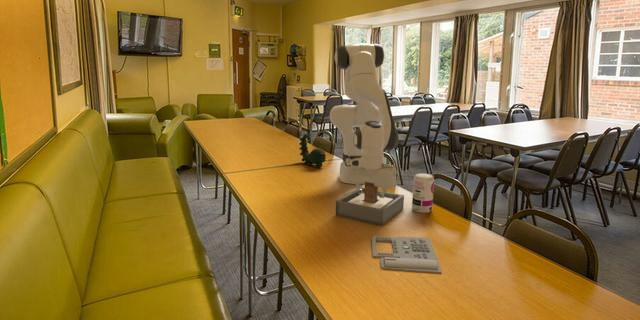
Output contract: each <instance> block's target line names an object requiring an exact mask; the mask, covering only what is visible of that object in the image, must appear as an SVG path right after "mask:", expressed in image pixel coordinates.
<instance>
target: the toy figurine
mask: <svg viewBox="0 0 640 320" xmlns="http://www.w3.org/2000/svg"><path fill="white" fill-rule="evenodd" d="M307 139H310V135H309V134H308V133H305V134H303V135H302V136H301V137H300V138H299V141H300V142H299V143H298V144H299V146H300V147H299V150H300V151H301V152H300V153H299V155H300V156H302V158H301V162H303V163H304V165H308V166H311V165H315V167H316V168H317V169H319V168H322V167H323V163H325V162H326V159H327V157H326V156H327V155H326V152H325V151H324V150H323V149H322V148H319V147H317V148H314V149H312V150H311V151H310V152H309V150H308V142H307Z"/></svg>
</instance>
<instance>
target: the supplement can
mask: <svg viewBox="0 0 640 320" xmlns="http://www.w3.org/2000/svg"><path fill="white" fill-rule="evenodd" d="M412 186H413V187H412V201H411V202H412V203H411V209H412V211H414V212H416V213H419V214H428V213H431V211H433V204H434V189H435V178H434V175H433V174H430V173H421V172H419V173H416V174H415V175H414V178H413V185H412Z"/></svg>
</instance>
